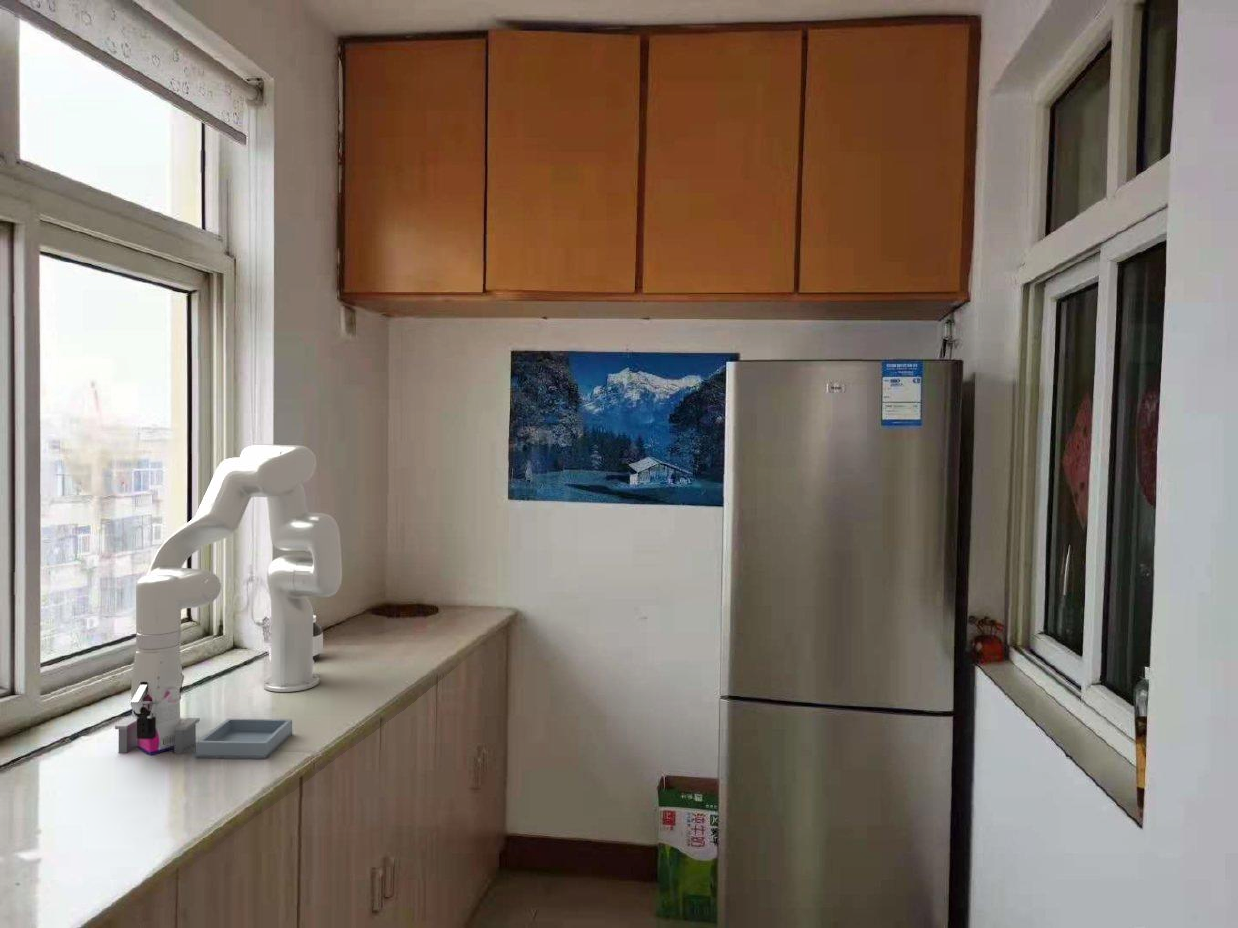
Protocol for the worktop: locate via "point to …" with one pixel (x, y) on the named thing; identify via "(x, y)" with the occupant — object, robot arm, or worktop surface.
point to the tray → (244, 738)
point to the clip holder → (183, 735)
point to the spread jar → (314, 640)
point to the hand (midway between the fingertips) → (158, 729)
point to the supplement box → (163, 723)
